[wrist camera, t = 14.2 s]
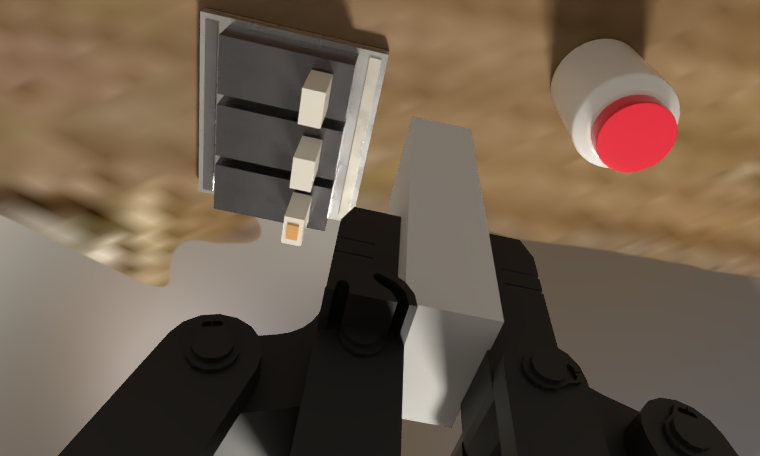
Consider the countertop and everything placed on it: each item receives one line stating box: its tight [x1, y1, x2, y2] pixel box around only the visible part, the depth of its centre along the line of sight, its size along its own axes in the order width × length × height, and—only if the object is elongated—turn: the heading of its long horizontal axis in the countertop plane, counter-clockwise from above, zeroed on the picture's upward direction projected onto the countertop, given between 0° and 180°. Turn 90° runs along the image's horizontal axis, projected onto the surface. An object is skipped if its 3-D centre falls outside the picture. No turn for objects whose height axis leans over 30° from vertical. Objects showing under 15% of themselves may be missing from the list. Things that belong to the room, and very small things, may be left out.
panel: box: [199, 8, 389, 231], centre depth 49 cm, size 18×16×4 cm
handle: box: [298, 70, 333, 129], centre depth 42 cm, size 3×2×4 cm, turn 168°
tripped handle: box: [281, 192, 312, 246], centre depth 49 cm, size 3×2×4 cm, turn 168°
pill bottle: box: [551, 39, 680, 172], centre depth 42 cm, size 8×8×11 cm
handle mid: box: [289, 136, 323, 192], centre depth 46 cm, size 3×2×4 cm, turn 168°
